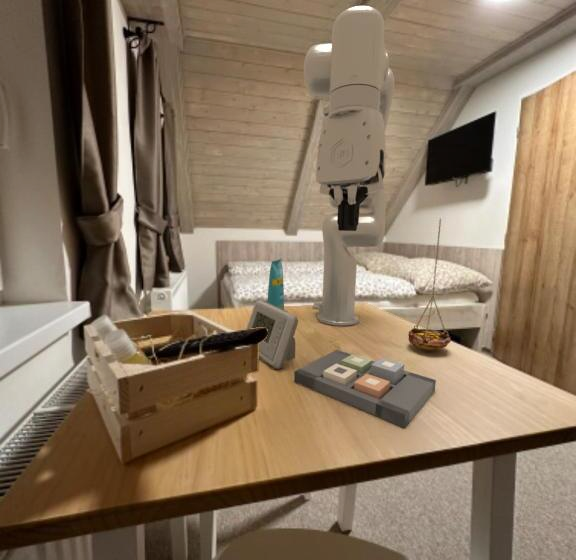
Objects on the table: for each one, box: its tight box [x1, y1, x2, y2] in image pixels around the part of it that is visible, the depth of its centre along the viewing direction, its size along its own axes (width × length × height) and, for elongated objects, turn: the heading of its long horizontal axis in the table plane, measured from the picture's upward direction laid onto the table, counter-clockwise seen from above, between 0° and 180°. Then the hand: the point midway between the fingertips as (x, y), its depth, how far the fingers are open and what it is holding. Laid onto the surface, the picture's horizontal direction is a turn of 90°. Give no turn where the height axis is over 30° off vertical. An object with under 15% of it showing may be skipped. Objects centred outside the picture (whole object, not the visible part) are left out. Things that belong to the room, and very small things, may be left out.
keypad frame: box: [293, 349, 437, 429], centre depth 56 cm, size 20×14×2 cm
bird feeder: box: [407, 217, 451, 351], centre depth 72 cm, size 9×9×30 cm
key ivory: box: [323, 363, 357, 386], centre depth 56 cm, size 4×4×3 cm
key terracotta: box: [354, 374, 390, 400], centre depth 52 cm, size 4×4×3 cm
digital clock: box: [246, 300, 299, 370], centre depth 68 cm, size 16×9×11 cm, turn 21°
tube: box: [266, 258, 285, 310], centre depth 83 cm, size 7×5×19 cm, turn 169°
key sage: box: [341, 353, 373, 374], centre depth 60 cm, size 4×4×3 cm
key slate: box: [371, 357, 405, 385], centre depth 56 cm, size 4×4×3 cm
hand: (347, 230), depth 51 cm, fingers closed
